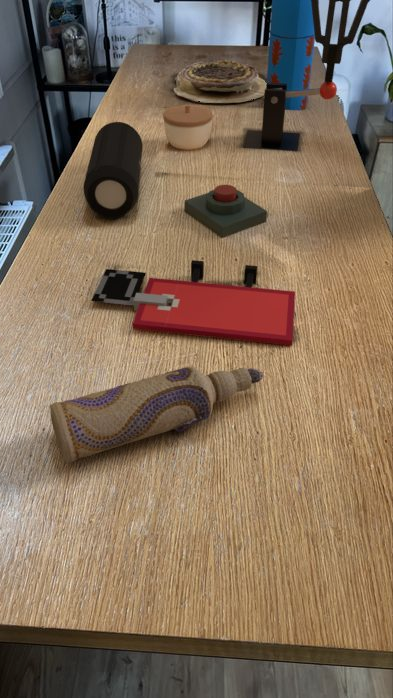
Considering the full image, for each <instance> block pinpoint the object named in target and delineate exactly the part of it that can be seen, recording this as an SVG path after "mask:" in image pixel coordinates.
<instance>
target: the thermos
mask: <svg viewBox="0 0 393 698" xmlns="http://www.w3.org/2000/svg"><path fill="white" fill-rule="evenodd" d="M318 3H319V4H320V0H318ZM269 26H270V28H269V39H268V40H269V41H268V55H267V69H266V70H267V71H266V82H267V83H282V84H287V91H295V90H305V89H310V86H311V85H310V84H311V77H312V68H313V60H314V50H315V43H316V41H315V34H314V24H313V14H312V5H311V0H272V1H271V12H270V25H269ZM308 99H309V95H308V96H298V97H288V98H286V105H285V111H299V112H300V110H301V111H304V110H305V109H306V108H307V106H308V105H307V104H308Z"/></svg>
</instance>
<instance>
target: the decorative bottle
mask: <svg viewBox="0 0 393 698" xmlns="http://www.w3.org/2000/svg"><path fill="white" fill-rule="evenodd" d="M263 378H264V372H263V371H261V370H260V369H257V368H249V369H247V368H246V367H239V368H237V369H236V368H235V369H233V370H230V371H228V370H217V371H213V372H210V373H209V374H206V375H204V374H203V373H202V372H201V371H200V370H199V369H198V368H197V367H195V366H190V365H189V366H185V367H182V368H178V369H175V370H171V371H166V372H164V373H161V374H156V375H153V376H151V377H147V378H142V379H140V380H137V381H132V382H128V383H124V384H121V385H117V386H115V387H112V388H108V389H103V390H100V391H97V392H92V393H89V394H87V395H86V394H85V395H83V396H78V397H77V398H73V399H67V400H64V401H55V402H53V403H50V405H49V412H50V421H51V425H52V428H53V432H54V436H55V440H56V442H57V446H58V448H59V451H60V453H61V455H62V457H63V459H64V460H65V462H66V463H74V462H75V461H77V460H79V459H80V458H81V459H82V458H86V457H89V456H92V455H96V454H98V453H102V452H105V451H108V450H112V449H114V448H119V447H122V446H123V445H128V444H130V443H133V442H137V441H141V440H144V439H147V438H151V437H152V436H153V437H154V436H156V435H160V434H163V433H166V432H169V431H172V430H175V431H176V432H180V433H181V432H183V431H185V430H187V429H188V428H190V426H192V425H193V424H196V423H199V422H202V421H205V420H206V419H209V417H210V416H211V415H212V412H213V407H214V406H213V405H214V403H220V402H223V401H226V400H228V399H230V398H231V397H233V396H234V395H236V394H237V393H239V392H244V391H246V390H249V389H251V388H252V385H253V384H256V383H259V382H260V381H261V380H263Z"/></svg>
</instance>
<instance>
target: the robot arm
mask: <svg viewBox="0 0 393 698" xmlns="http://www.w3.org/2000/svg"><path fill="white" fill-rule="evenodd" d="M351 1H352V0H328V7H327V16H326V24H325V30H324V34H322V26H321V25H322V24H321V16H320V2H319V3H318V0H311V5H312V14H313V24H314V34H315V43H317V44H320V45H322V53H321V63H322V64H326V67H325V74H324V82H328V81H329V82H333V80H334V72H335V67H336V66H335V65H341V63H342V56H343V51H344V47H345V46H346V45H352V44H353V43H354V40H355V38H356V35H357V33H358V30H359V27H360V26H361V22H362V20H363V17H364V15H365V12H366V10H367V6H368V4H369V3H370V1H371V0H360V1H359V4H358V7H357V10H356V12H355V15H354V18H353V20H352V23H351V25H350V28H349V30H348V33H347V35H346V30H347V29H346V28H347V24H348V17H349V10H350V9H349V8H350V2H351ZM337 2H341V11H340V19H339V26H338V34H337V40H336V43H331V41H332V40H331V39H332V32H333V25H334V18H335V11H336V10H335V9H336V3H337Z"/></svg>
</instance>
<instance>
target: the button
mask: <svg viewBox="0 0 393 698" xmlns="http://www.w3.org/2000/svg"><path fill="white" fill-rule="evenodd" d="M213 190H214V199H215V200H216V201H218V202H223V203H226V202H233V201H235V200H236V195H237V190H238V189H237V187H235V186H234V185H231V184H220V185H217V186H216V187H215V188H214V189H213Z"/></svg>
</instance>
